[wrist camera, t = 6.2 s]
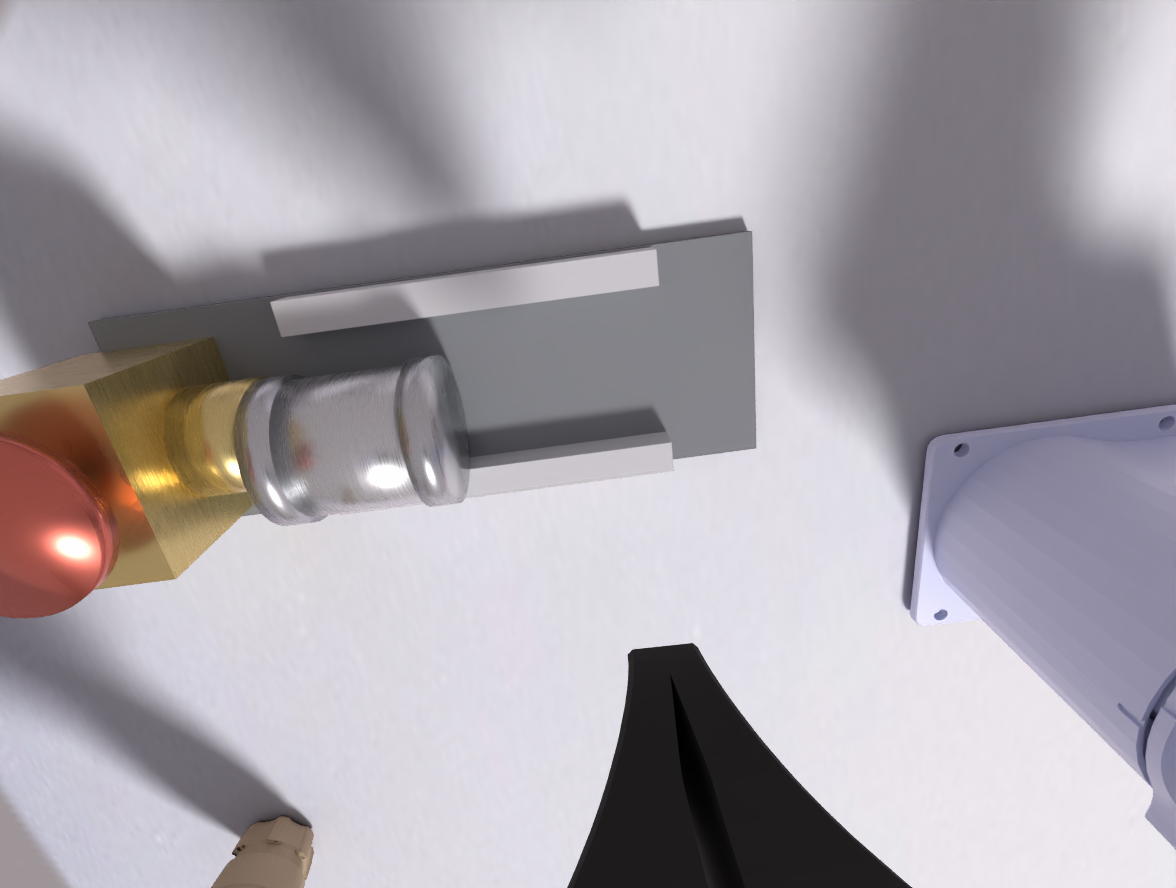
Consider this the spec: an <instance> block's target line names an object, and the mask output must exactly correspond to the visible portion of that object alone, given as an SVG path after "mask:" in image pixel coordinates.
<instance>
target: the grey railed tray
mask: <svg viewBox="0 0 1176 888" xmlns="http://www.w3.org/2000/svg"><path fill="white" fill-rule="evenodd" d="M88 324H89V326H90V328H91V330H92V333H93V335H94V337H95V339H96V341H97V344H98V346H99V348H100V350H101V352H104V351H112V350H119V349H126V348H134V347H141V346H148V345H156V344H163V343H170V342H178V341H185V340H192V339H199V338H207V337H214V338H215V341H216V343H217V346H218V349H219V351H220V354H221V357H222V359H223V362H224V365H225V367H226V370H227V373H228V375H229V378H230V381H233V380H240V379H247V378H255V377H262V376H264V377H269V378H270V377H277V376H285V375H300V376H303V377H305V378H310V377H318V376H325V375H333V374H340V373H348V372H355V371H363V370H370V369H377V368H385V367H392V366H400V365H403V364H404V363H405V361H407V360H408V359H412V358H419V357H427V356H434V355H441V356H442V357H444V358H445V359H446V361H447V362H448V364H449V366H450V367H451V369H452V372H453V374H454V376H455V379H456V382H457V385H458V388H459V392H460V395H461V399H462V403H463V408H464V413H465V418H466V424H467V431H468V440H469V453H470V476H469V485H468V491H467V494H466V497H465V498H472V497H479V496H487V495H494V494H502V493H509V492H517V491H525V490H532V489H540V488H547V487H555V486H562V485H570V484H578V483H585V482H593V481H600V480H608V479H615V478H623V477H631V476H638V475H646V474H653V473H661V472H668V471H674V467H673V459H679V458H686V457H694V456H702V455H709V454H717V453H724V452H732V451H739V450H747V449H754V448H756V411H755V358H754V306H753V253H752V231H744V232H737V233H730V234H722V235H715V236H708V237H701V238H693V239H686V240H679V241H671V242H664V243H657V244H649V245H642V246H635V247H628V248H620V249H613V250H606V251H598V252H591V253H584V254H577V255H569V256H562V257H555V258H547V259H540V260H533V261H526V262H518V263H511V264H504V265H496V266H489V267H482V268H474V269H467V270H460V271H453V272H445V273H438V274H431V275H423V276H416V277H409V278H402V279H394V280H387V281H380V282H372V283H365V284H358V285H351V286H343V287H336V288H329V289H321V290H314V291H307V292H299V293H292V294H285V295H278V296H270V297H263V298H256V299H248V300H241V301H234V302H227V303H219V304H212V305H205V306H197V307H190V308H183V309H176V310H168V311H161V312H154V313H146V314H139V315H132V316H124V317H117V318H110V319H103V320H96V321H92V322H88ZM419 504H424V503H417V504H409V505H401V506H394V507H386V508H379V509H371V510H363V511H356V512H348V513H340V515H343V514H351V513H358V512H366V511H373V510H381V509H388V508H396V507H403V506H411V505H419ZM256 514H261V513H260V511H259V510H258V509H257V508H256V506H255V505H253V506H252V507H251V508H250V509H248V510H247V511H246V512H245V513H244V514H243V515H242V516H248V515H256Z"/></svg>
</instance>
